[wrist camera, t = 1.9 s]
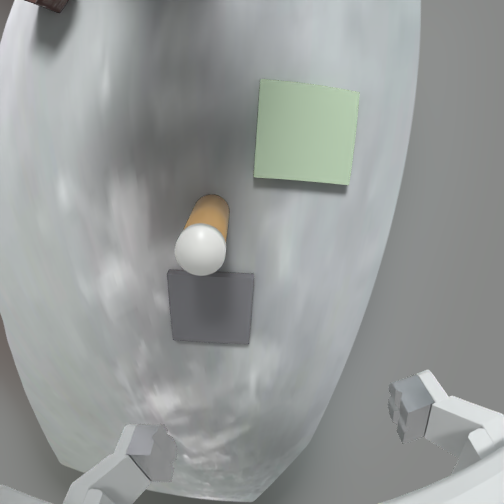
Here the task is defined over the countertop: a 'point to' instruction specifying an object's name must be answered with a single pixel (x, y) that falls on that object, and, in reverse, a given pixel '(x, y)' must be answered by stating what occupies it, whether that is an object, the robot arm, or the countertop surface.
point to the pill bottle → (204, 237)
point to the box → (50, 4)
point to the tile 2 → (305, 132)
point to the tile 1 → (210, 306)
